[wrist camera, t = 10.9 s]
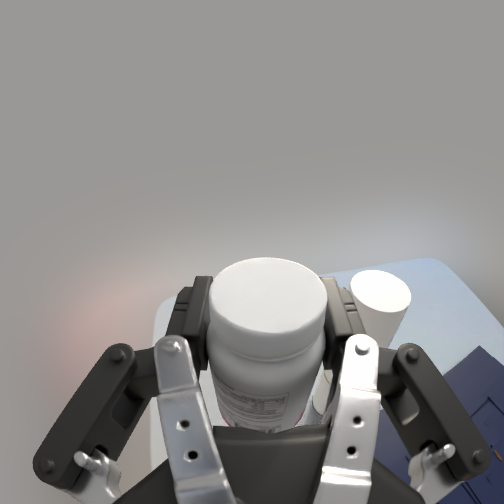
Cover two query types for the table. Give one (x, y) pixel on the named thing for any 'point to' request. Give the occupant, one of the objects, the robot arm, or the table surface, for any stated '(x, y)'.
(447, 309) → the table surface
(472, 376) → the papers
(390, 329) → the tube
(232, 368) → the pill bottle
